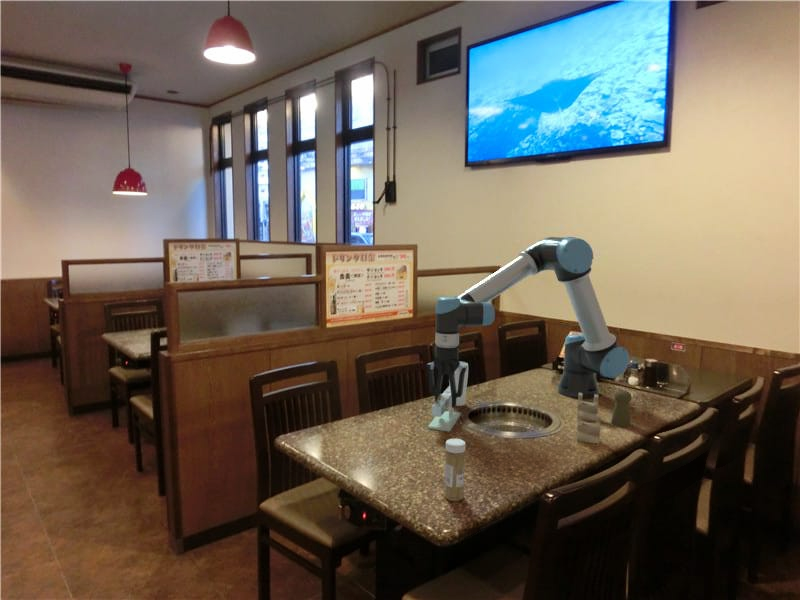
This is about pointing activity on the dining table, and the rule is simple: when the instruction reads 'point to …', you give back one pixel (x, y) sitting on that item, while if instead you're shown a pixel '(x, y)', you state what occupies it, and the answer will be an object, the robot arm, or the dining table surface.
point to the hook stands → (588, 411)
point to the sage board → (444, 421)
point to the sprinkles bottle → (454, 469)
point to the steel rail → (442, 403)
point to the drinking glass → (461, 400)
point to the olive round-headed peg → (621, 409)
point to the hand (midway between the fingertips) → (445, 416)
